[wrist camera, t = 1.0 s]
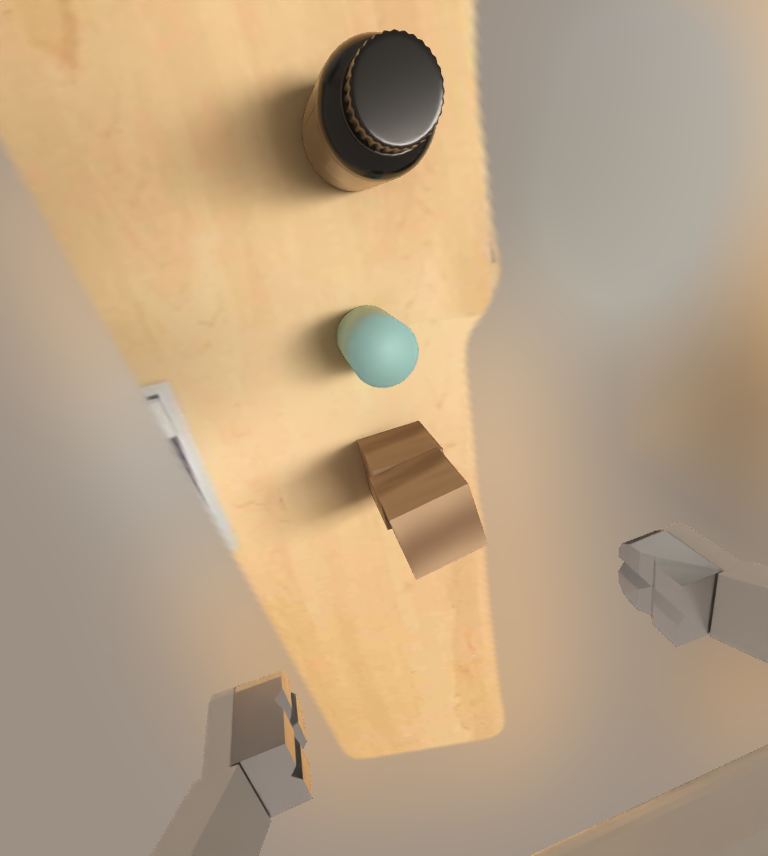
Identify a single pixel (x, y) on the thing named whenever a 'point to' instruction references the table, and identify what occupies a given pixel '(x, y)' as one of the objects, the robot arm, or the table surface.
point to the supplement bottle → (373, 110)
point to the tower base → (393, 452)
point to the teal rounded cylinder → (377, 346)
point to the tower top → (430, 511)
